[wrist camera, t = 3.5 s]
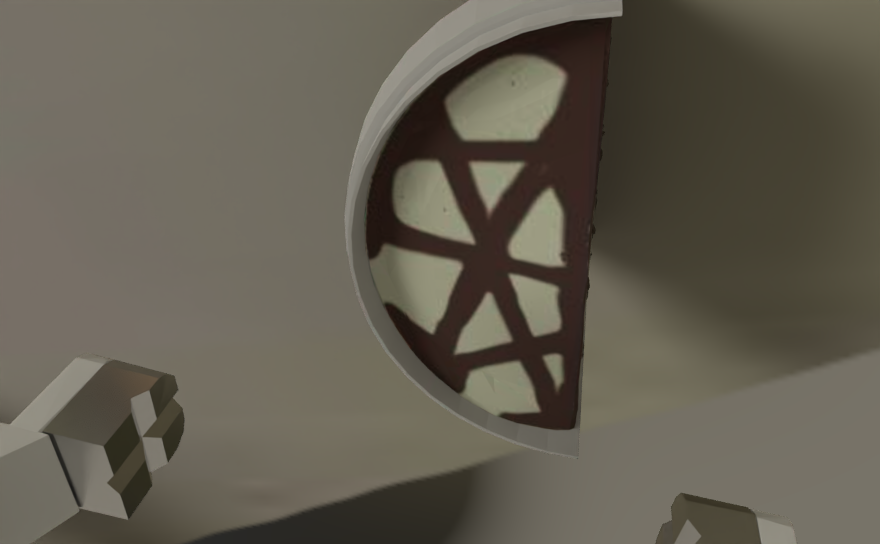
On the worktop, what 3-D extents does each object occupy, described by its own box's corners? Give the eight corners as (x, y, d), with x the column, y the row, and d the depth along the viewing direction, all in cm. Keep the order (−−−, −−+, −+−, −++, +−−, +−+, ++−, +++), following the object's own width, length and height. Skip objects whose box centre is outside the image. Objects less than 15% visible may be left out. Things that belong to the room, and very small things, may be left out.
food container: (409, -89, 20) (275, -19, 12) (619, -96, 19) (625, -24, 11) (432, 254, 27) (357, 443, 19) (587, 265, 26) (577, 472, 18)
